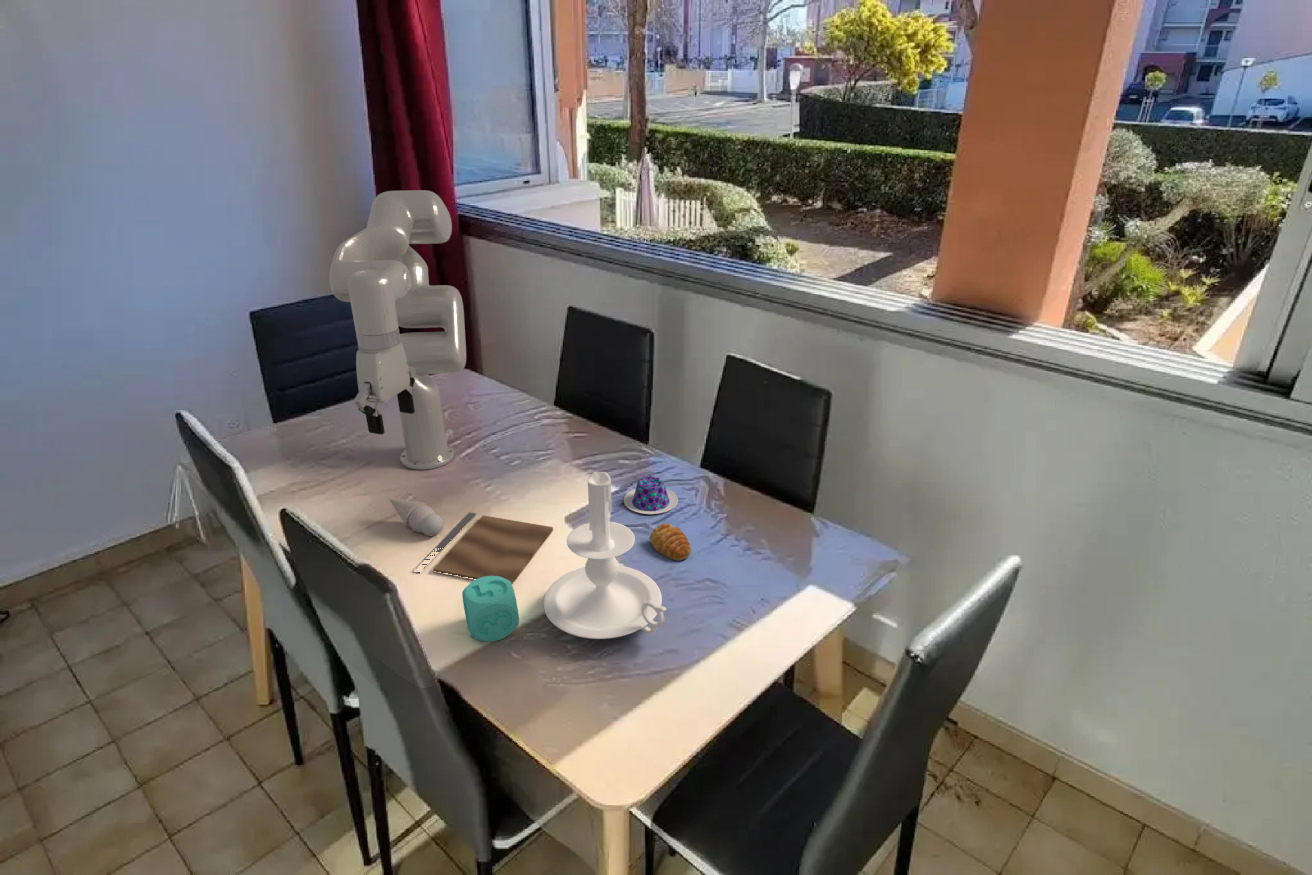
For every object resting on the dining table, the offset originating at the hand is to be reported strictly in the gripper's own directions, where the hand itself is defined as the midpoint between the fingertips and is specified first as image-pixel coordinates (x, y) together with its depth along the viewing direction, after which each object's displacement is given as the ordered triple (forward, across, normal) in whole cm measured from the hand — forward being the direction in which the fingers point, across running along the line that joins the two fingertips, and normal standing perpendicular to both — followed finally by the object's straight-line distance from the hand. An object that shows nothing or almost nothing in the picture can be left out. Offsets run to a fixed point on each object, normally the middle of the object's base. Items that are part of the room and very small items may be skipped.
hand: (392, 422), depth 152 cm
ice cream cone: (+25, -1, +1) cm, 25 cm away
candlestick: (+24, +13, +50) cm, 58 cm away
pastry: (+25, -11, +54) cm, 60 cm away
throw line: (+24, +2, +10) cm, 26 cm away
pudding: (+25, -27, +44) cm, 57 cm away
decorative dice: (+24, +22, +32) cm, 46 cm away
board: (+24, +1, +21) cm, 32 cm away
